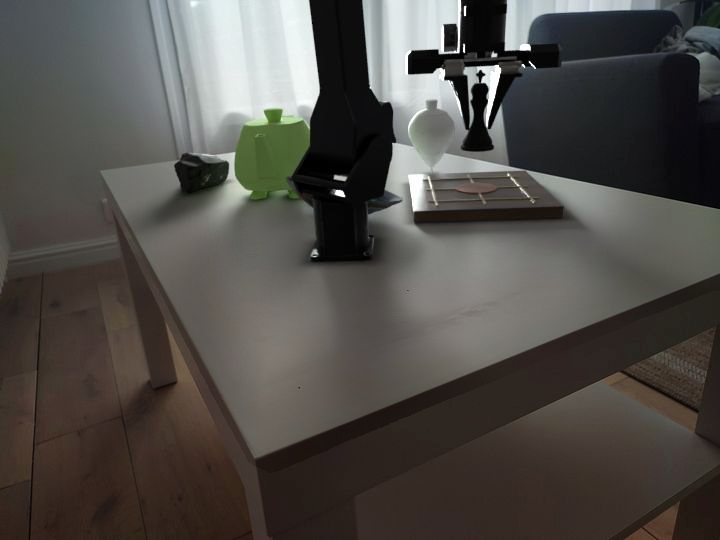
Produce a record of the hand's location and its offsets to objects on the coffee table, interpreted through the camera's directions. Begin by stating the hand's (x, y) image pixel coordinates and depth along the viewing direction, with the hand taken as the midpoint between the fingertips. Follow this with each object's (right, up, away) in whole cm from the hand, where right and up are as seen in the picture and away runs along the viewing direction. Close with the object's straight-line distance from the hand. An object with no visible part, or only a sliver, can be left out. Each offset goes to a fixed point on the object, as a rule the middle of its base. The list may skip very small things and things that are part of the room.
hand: (478, 129), depth 70 cm
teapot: (-28, -6, +13) cm, 32 cm away
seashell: (-18, -12, -1) cm, 22 cm away
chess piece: (0, -3, +1) cm, 3 cm away
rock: (-42, -5, +20) cm, 46 cm away
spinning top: (-3, -2, +20) cm, 20 cm away
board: (+1, -9, +4) cm, 10 cm away
